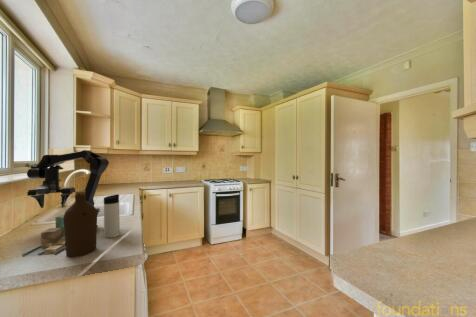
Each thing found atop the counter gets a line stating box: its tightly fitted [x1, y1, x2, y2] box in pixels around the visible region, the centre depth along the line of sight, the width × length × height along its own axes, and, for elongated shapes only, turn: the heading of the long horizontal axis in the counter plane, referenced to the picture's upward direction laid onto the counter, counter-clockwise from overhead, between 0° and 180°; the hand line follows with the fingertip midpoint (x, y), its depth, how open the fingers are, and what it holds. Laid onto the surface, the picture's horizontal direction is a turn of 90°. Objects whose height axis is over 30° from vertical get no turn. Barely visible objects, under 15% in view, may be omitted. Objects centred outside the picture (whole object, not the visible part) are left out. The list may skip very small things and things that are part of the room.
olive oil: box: [63, 190, 98, 259], centre depth 80 cm, size 11×11×25 cm
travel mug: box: [103, 194, 121, 239], centre depth 97 cm, size 6×7×20 cm
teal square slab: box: [40, 214, 65, 248], centre depth 89 cm, size 4×10×10 cm, turn 4°
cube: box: [40, 227, 62, 245], centre depth 87 cm, size 5×5×5 cm
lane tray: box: [21, 239, 66, 257], centre depth 87 cm, size 12×19×2 cm, turn 4°
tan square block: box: [56, 240, 65, 247], centre depth 86 cm, size 4×4×2 cm
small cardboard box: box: [45, 245, 63, 254], centre depth 81 cm, size 4×4×2 cm
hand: (52, 207), depth 108 cm, fingers open, 9 cm apart
